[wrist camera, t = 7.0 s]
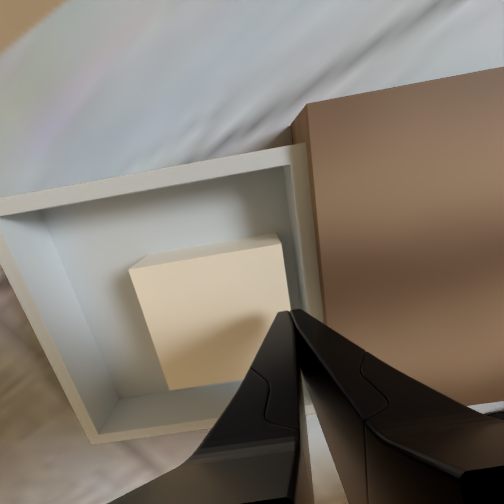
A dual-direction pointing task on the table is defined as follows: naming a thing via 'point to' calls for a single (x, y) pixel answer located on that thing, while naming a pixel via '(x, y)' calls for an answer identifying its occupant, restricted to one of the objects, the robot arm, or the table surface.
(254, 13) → the table surface
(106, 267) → the box
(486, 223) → the brown rectangular slab
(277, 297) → the block
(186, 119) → the table surface
